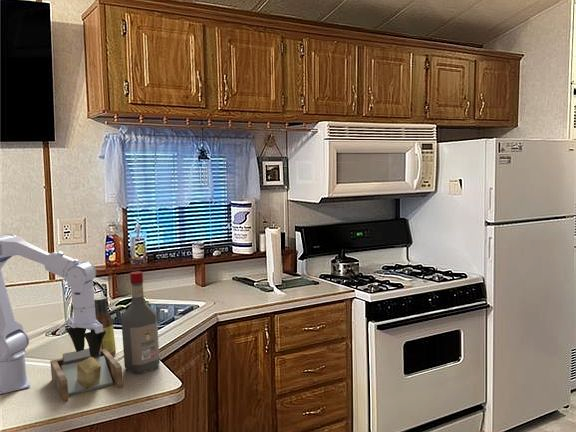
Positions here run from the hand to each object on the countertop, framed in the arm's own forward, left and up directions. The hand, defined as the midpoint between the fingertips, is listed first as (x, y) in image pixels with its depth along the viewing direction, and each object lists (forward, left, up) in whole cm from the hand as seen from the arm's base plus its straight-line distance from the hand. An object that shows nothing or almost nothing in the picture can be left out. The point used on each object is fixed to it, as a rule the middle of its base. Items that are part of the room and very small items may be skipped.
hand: (87, 353), depth 147 cm
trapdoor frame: (-5, 0, -10) cm, 11 cm away
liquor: (-6, +17, -11) cm, 21 cm away
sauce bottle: (-23, +10, -11) cm, 28 cm away
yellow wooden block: (-1, 0, -8) cm, 8 cm away
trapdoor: (-5, 0, -8) cm, 9 cm away
